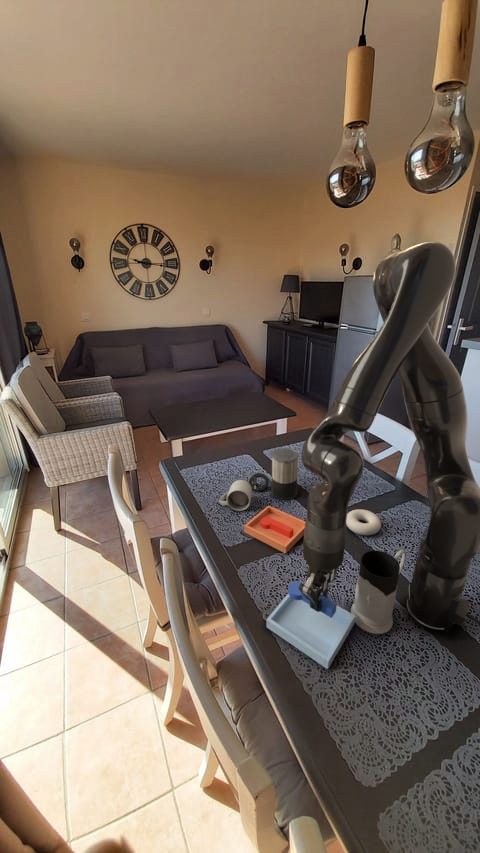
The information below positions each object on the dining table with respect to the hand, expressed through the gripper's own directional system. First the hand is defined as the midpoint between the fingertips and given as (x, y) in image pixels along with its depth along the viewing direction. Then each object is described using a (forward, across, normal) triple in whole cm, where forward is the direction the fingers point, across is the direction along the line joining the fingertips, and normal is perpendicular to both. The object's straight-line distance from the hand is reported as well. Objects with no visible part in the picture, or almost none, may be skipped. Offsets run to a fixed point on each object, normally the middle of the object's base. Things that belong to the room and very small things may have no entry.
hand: (318, 604), depth 74 cm
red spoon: (+7, +21, +25) cm, 33 cm away
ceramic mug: (+8, +23, +43) cm, 49 cm away
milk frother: (+8, +37, +38) cm, 54 cm away
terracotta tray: (+7, +21, +25) cm, 33 cm away
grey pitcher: (+7, +13, -8) cm, 17 cm away
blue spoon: (0, 0, +2) cm, 2 cm away
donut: (+7, +38, +6) cm, 39 cm away
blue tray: (+7, 0, +1) cm, 7 cm away
